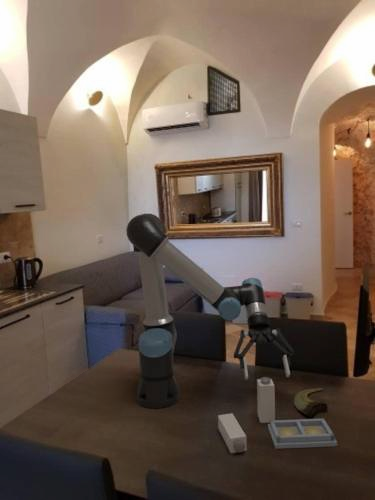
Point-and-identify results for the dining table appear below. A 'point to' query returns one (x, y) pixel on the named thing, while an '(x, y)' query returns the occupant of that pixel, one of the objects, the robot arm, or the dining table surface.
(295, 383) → the dining table surface
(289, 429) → the tray
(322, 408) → the claw
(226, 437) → the white rectangular block
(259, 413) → the white square bottle
